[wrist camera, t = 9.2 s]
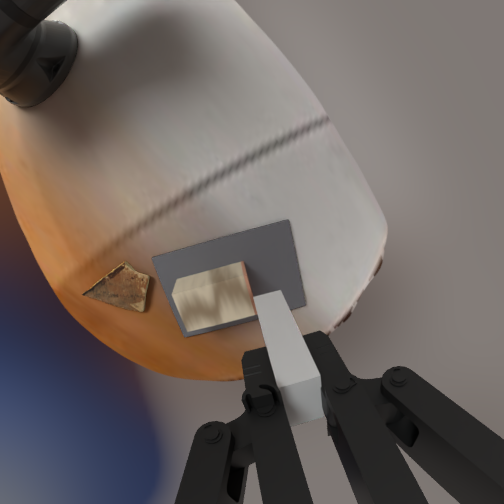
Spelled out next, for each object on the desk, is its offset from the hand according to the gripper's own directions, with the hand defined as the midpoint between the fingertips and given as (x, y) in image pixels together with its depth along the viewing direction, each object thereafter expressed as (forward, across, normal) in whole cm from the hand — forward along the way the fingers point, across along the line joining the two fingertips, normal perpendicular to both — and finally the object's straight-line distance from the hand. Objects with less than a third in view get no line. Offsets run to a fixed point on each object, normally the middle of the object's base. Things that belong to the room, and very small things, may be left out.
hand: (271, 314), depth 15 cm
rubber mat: (+25, -3, -9) cm, 26 cm away
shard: (+25, -20, -7) cm, 33 cm away
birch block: (+22, -1, -9) cm, 23 cm away
